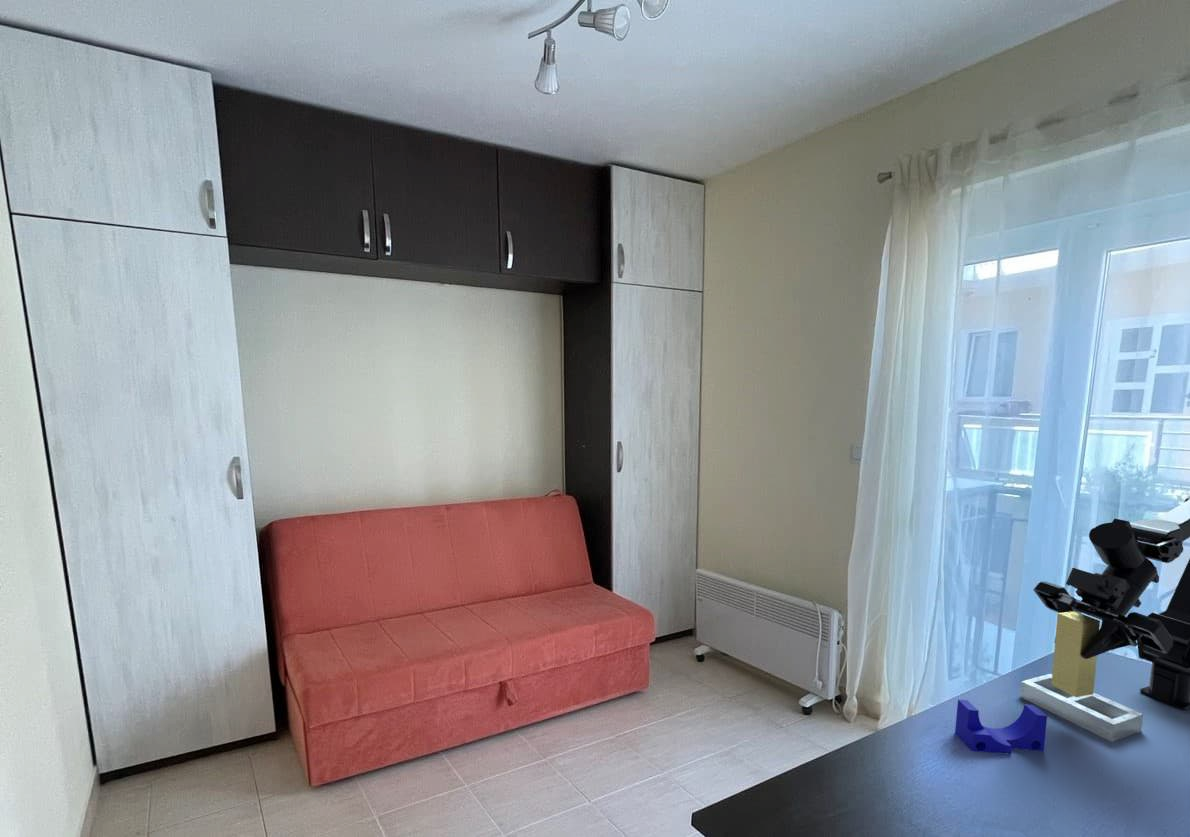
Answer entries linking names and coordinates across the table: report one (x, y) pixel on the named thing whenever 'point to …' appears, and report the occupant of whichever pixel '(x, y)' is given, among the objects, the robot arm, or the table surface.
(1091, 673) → the brass peg
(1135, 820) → the table surface
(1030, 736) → the cable clip
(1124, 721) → the metal frame
